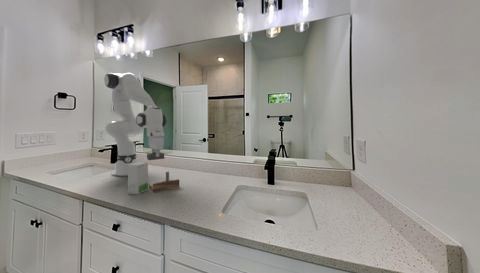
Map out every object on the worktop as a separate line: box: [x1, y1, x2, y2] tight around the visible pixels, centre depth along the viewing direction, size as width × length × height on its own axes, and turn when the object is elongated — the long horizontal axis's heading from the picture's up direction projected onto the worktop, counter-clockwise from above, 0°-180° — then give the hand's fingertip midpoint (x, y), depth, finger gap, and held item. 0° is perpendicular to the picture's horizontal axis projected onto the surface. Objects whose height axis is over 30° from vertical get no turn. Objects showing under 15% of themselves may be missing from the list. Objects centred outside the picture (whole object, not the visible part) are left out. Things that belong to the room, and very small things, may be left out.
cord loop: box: [146, 151, 165, 161], centre depth 109 cm, size 6×8×3 cm
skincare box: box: [127, 161, 149, 195], centre depth 97 cm, size 8×7×16 cm
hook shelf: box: [148, 171, 180, 193], centre depth 105 cm, size 12×14×8 cm
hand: (155, 155), depth 109 cm, fingers closed on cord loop, 6 cm apart
